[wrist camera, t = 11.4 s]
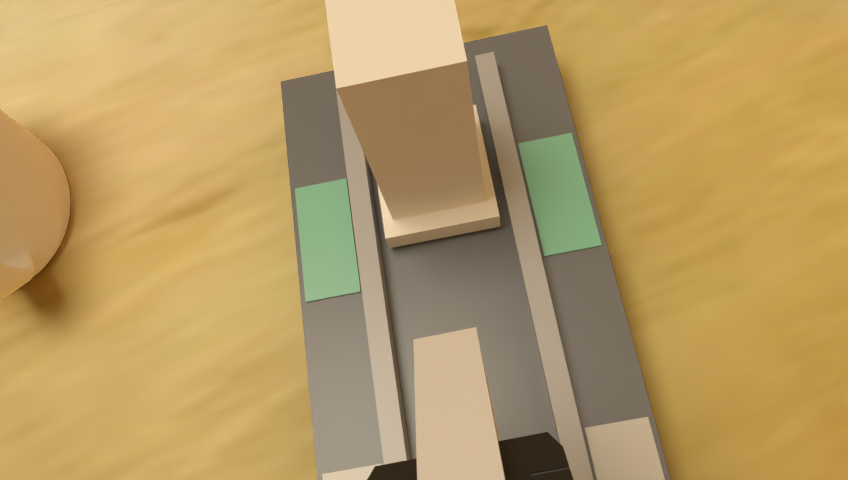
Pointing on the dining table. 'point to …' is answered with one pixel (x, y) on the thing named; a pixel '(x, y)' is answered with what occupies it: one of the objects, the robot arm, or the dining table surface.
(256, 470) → the dining table surface
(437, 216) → the slider tab
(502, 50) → the switch panel
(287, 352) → the dining table surface
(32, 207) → the mug
